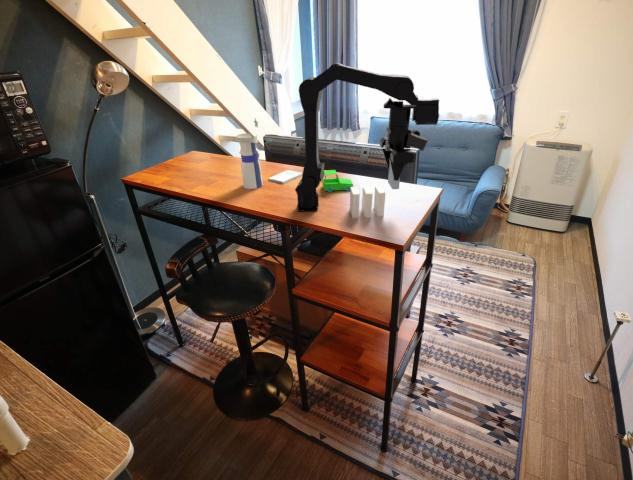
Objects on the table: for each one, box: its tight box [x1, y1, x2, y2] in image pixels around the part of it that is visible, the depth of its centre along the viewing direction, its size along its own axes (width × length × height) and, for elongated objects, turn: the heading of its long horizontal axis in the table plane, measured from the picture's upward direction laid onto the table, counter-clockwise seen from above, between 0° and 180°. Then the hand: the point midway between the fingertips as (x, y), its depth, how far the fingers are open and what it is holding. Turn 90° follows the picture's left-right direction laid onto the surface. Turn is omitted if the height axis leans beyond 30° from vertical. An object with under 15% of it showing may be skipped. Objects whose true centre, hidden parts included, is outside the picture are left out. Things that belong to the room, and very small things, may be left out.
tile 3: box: [373, 185, 386, 218], centre depth 110 cm, size 2×6×8 cm, turn 3°
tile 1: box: [349, 186, 360, 219], centre depth 109 cm, size 2×6×8 cm, turn 2°
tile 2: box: [361, 185, 374, 218], centre depth 110 cm, size 2×6×8 cm, turn 3°
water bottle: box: [234, 117, 264, 190], centre depth 129 cm, size 8×8×25 cm
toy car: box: [321, 169, 354, 193], centre depth 129 cm, size 11×7×7 cm, turn 97°
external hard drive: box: [267, 169, 303, 185], centre depth 142 cm, size 2×8×12 cm
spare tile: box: [387, 158, 401, 190], centre depth 105 cm, size 2×6×8 cm, turn 3°
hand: (393, 176), depth 106 cm, fingers closed on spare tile, 6 cm apart
